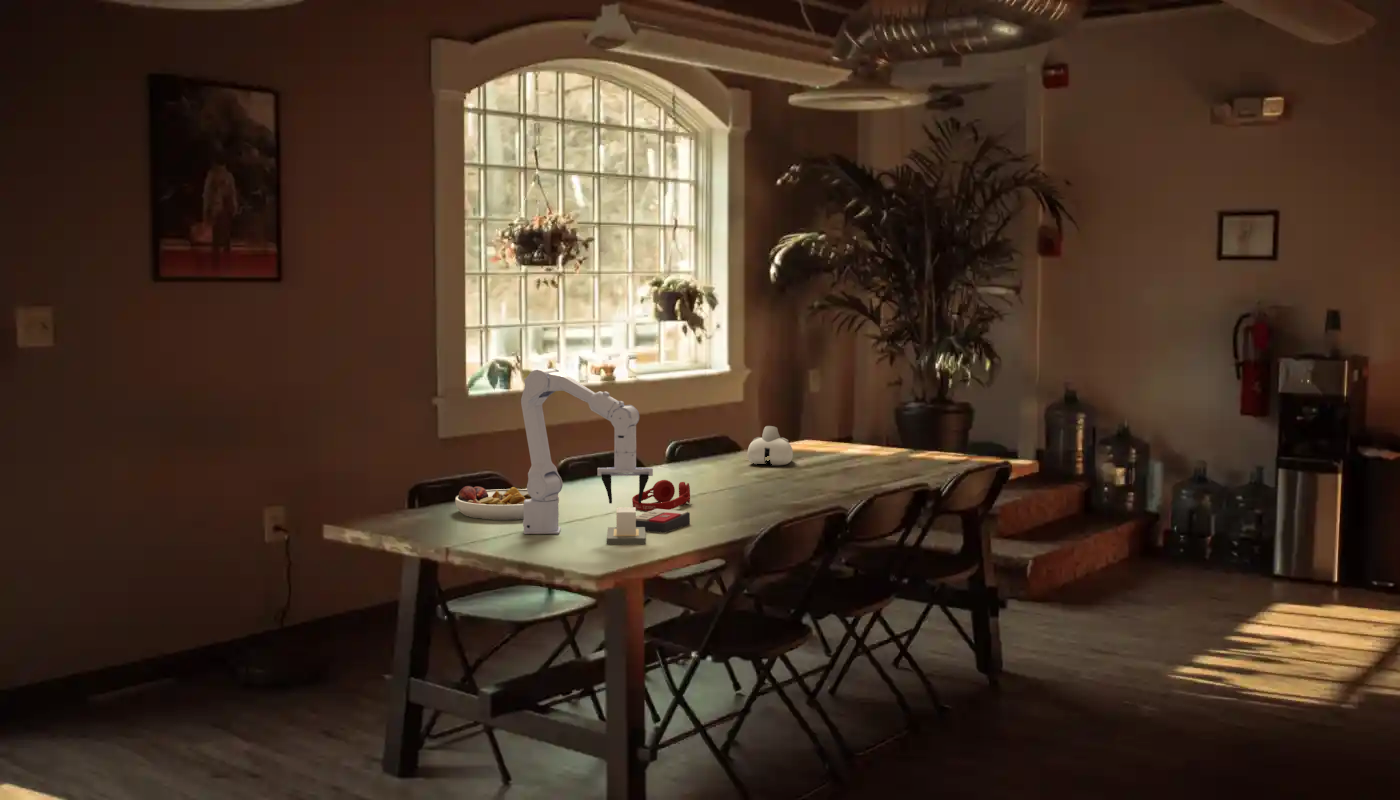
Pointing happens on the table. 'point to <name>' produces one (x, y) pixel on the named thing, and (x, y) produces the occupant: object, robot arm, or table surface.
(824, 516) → the table surface
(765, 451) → the off-white rounded lobed piece
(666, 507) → the headphones
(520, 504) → the bowl
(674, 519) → the calculator
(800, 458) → the table surface
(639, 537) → the board
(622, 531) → the block
